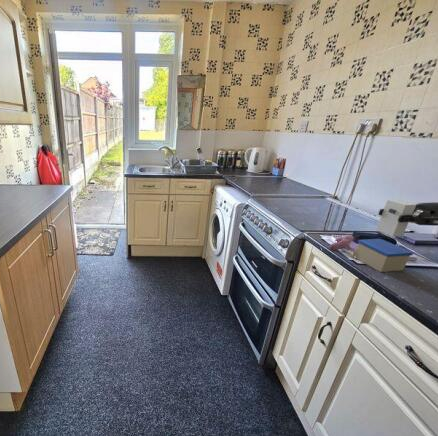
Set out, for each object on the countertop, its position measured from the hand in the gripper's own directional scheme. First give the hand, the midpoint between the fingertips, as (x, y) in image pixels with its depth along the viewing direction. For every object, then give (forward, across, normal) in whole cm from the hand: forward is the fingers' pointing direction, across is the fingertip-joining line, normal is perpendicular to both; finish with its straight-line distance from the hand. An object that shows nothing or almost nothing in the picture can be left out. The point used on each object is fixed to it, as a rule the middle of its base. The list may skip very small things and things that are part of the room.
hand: (389, 215), depth 81 cm
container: (-2, 0, +18) cm, 18 cm away
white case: (-3, 0, +6) cm, 7 cm away
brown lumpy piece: (+1, -12, +18) cm, 22 cm away
